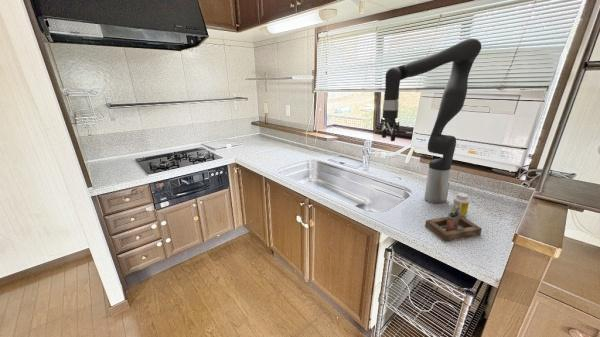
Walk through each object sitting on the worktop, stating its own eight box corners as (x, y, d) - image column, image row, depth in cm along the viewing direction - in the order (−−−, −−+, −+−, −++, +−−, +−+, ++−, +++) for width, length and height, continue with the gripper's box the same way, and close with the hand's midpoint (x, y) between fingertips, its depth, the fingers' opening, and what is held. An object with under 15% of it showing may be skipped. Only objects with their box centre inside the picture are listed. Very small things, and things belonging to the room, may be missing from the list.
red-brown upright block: (451, 236, 95) (456, 213, 92) (442, 232, 97) (446, 210, 94) (459, 228, 100) (464, 206, 96) (450, 225, 102) (454, 203, 99)
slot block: (457, 220, 105) (458, 214, 104) (480, 235, 95) (481, 228, 94) (424, 226, 102) (425, 220, 101) (445, 242, 92) (446, 235, 91)
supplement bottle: (467, 214, 109) (471, 194, 106) (464, 219, 105) (468, 198, 102) (453, 210, 113) (456, 190, 109) (449, 215, 109) (453, 195, 105)
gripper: (377, 108, 132) (375, 137, 138) (391, 110, 119) (389, 142, 125) (389, 107, 134) (387, 136, 139) (405, 109, 121) (402, 141, 126)
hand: (388, 139), depth 132 cm, fingers open, 8 cm apart
